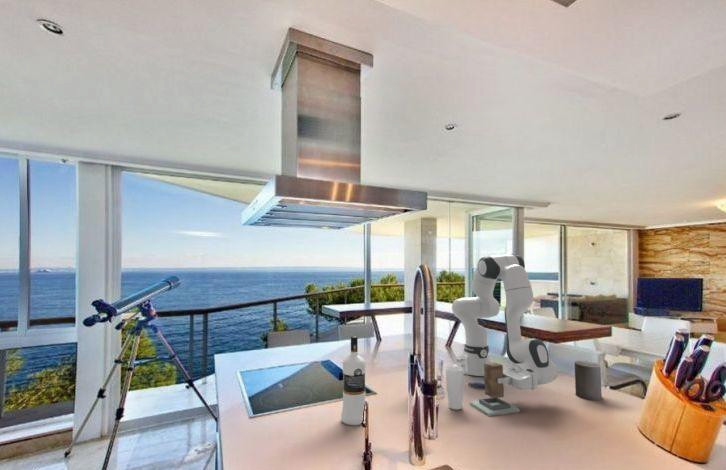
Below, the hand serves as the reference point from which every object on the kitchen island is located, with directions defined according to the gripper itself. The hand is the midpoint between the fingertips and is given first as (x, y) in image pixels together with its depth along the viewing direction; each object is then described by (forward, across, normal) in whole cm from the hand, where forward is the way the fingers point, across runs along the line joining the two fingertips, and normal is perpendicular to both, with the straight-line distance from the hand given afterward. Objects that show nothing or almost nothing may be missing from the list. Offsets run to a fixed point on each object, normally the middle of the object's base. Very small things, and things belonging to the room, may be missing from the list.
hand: (491, 378), depth 144 cm
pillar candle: (-48, +1, +12) cm, 49 cm away
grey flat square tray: (-1, 0, +12) cm, 12 cm away
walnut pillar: (-1, 0, +7) cm, 7 cm away
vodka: (+55, -5, +12) cm, 57 cm away
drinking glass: (+14, -5, +12) cm, 19 cm away
